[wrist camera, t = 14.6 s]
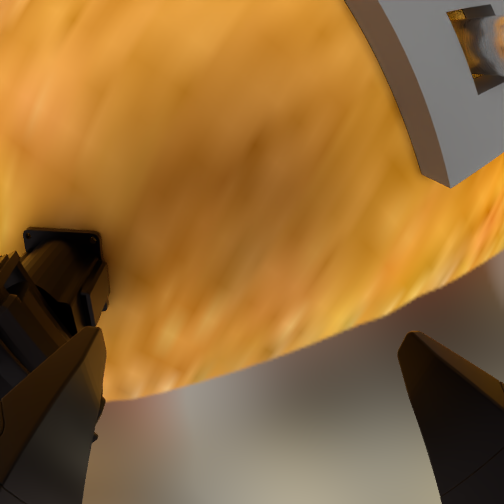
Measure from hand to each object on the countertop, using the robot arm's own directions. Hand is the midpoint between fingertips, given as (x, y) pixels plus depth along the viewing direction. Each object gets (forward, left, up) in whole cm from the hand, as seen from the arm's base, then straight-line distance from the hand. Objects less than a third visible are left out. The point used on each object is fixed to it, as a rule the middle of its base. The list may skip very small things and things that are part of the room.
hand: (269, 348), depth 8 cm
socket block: (+15, +15, -13) cm, 25 cm away
